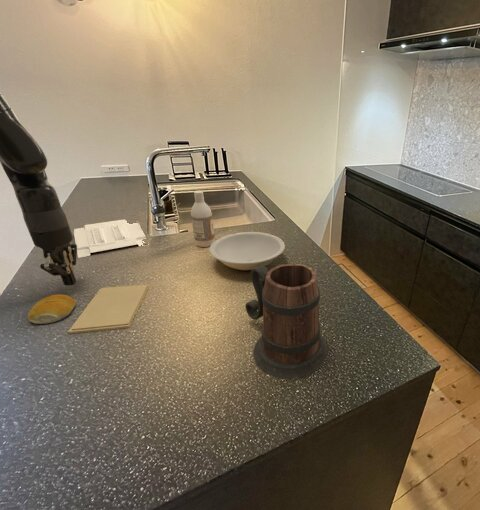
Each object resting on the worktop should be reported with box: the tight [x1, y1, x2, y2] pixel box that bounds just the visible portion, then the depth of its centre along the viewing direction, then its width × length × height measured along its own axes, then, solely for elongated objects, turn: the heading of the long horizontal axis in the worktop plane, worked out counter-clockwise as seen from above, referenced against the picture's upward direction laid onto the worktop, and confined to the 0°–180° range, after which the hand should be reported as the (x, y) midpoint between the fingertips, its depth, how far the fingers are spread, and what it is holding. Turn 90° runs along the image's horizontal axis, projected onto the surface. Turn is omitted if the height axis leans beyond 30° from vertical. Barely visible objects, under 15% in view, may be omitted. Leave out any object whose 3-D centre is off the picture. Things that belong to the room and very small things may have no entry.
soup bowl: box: [209, 231, 286, 271], centre depth 103 cm, size 24×24×7 cm
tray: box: [73, 219, 150, 259], centre depth 114 cm, size 20×28×4 cm
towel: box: [67, 284, 150, 335], centre depth 78 cm, size 12×18×1 cm, turn 15°
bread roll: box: [27, 293, 77, 325], centre depth 74 cm, size 8×9×4 cm
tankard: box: [245, 263, 329, 380], centre depth 68 cm, size 24×17×20 cm
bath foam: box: [190, 190, 216, 248], centre depth 110 cm, size 7×7×20 cm
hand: (70, 284), depth 83 cm, fingers closed
